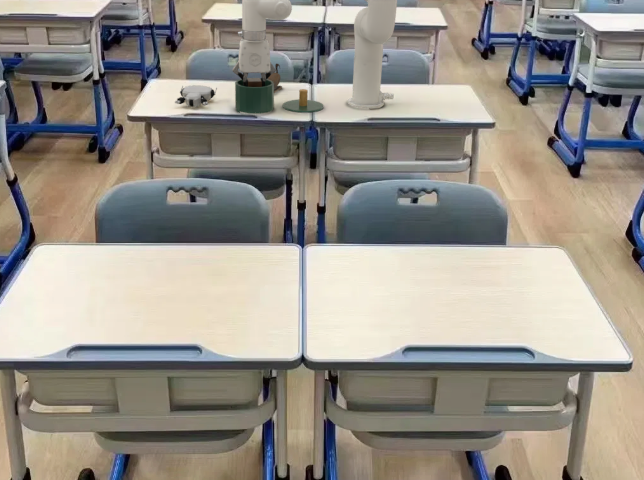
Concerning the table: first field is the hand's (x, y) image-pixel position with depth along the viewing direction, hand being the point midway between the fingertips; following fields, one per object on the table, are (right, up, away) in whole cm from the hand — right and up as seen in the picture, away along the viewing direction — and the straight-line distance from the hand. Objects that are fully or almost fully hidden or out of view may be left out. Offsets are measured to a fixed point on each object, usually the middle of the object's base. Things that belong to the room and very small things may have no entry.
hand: (254, 92), depth 269 cm
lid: (+16, -3, +5) cm, 17 cm away
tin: (0, -5, +3) cm, 6 cm away
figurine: (+5, +8, +26) cm, 28 cm away
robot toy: (-20, -2, +8) cm, 22 cm away
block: (0, 0, 0) cm, 0 cm away
